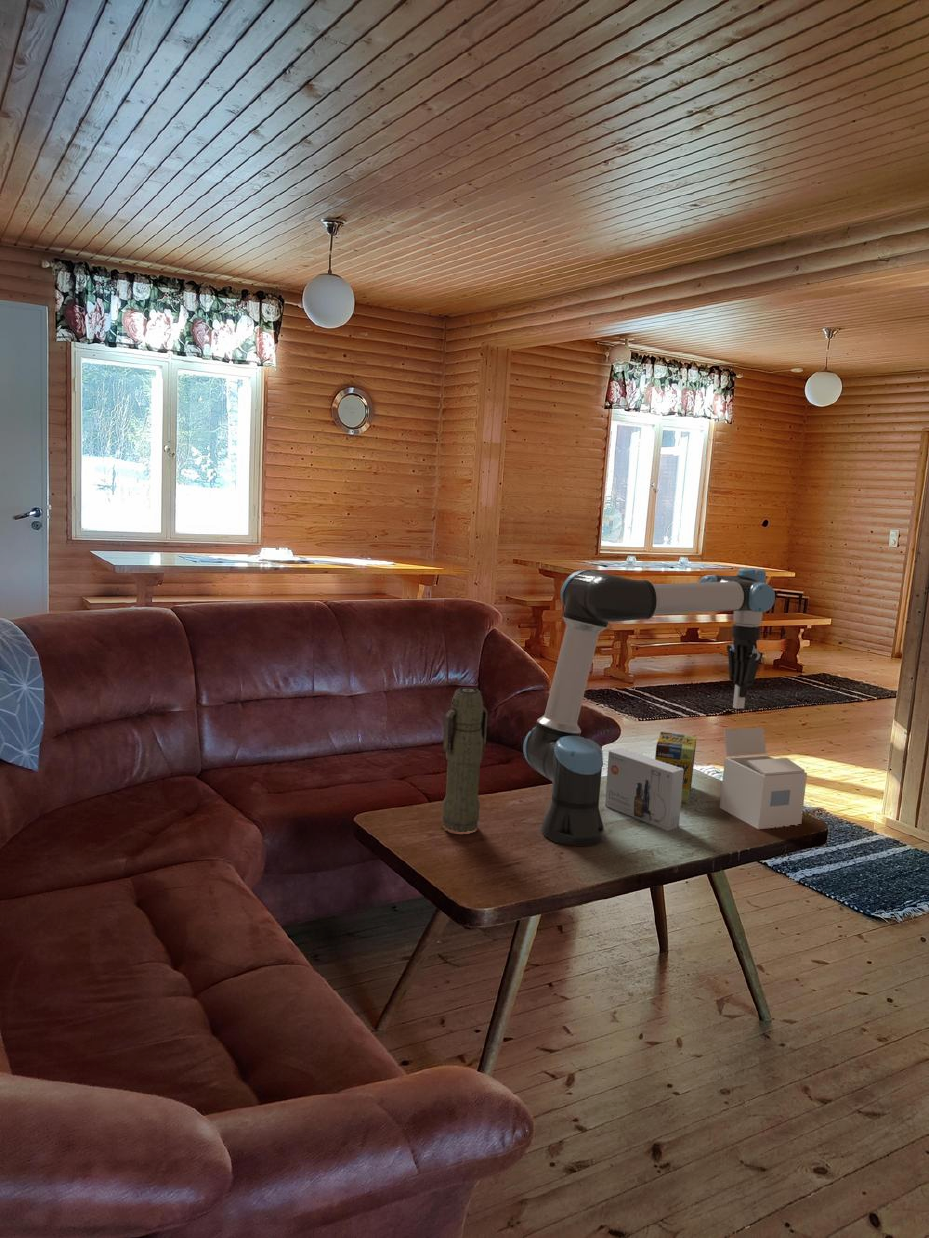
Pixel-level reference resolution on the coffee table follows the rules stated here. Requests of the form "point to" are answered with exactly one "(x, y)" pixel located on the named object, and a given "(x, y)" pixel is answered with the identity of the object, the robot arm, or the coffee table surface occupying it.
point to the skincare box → (644, 788)
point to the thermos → (464, 759)
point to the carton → (762, 794)
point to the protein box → (678, 756)
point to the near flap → (775, 766)
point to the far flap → (744, 741)
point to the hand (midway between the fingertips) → (738, 707)
